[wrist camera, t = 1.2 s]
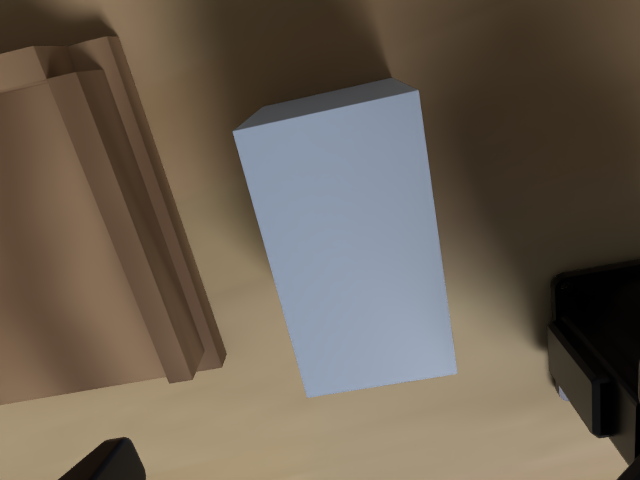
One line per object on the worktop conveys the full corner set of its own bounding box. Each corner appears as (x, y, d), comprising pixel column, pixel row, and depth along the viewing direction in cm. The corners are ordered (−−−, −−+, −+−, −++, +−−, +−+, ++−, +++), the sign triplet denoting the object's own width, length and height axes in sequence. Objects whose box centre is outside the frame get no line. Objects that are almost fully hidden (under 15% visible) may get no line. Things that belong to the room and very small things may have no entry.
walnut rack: (118, 36, 17) (78, 34, 15) (226, 354, 22) (211, 397, 20) (-171, 108, 19) (-259, 118, 16) (-7, 394, 24) (-52, 440, 21)
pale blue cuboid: (391, 77, 18) (418, 90, 12) (424, 287, 21) (457, 373, 16) (262, 106, 18) (232, 131, 13) (313, 307, 22) (307, 397, 16)
